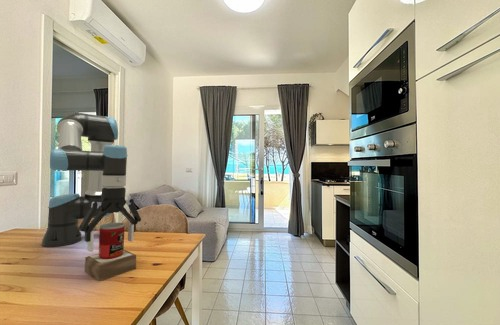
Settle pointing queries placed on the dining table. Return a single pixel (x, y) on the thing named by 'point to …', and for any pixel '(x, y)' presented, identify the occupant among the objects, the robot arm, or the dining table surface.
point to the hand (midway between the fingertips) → (111, 245)
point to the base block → (109, 265)
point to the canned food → (111, 240)
